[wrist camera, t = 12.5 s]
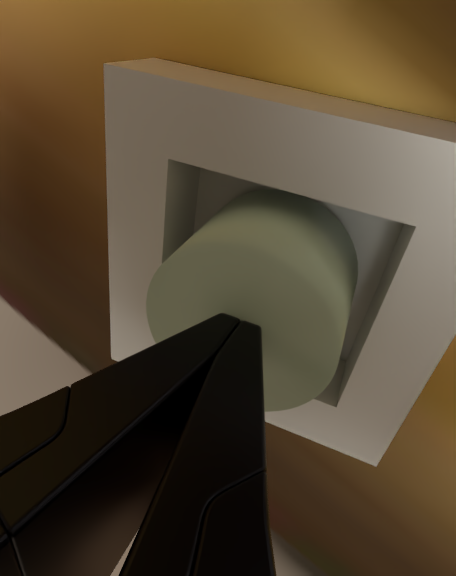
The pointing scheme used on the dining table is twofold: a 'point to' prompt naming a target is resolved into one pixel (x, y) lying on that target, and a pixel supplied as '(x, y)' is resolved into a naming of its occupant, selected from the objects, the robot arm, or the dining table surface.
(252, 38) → the dining table surface
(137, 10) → the dining table surface
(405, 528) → the dining table surface
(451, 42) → the dining table surface
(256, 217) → the button
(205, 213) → the button housing
